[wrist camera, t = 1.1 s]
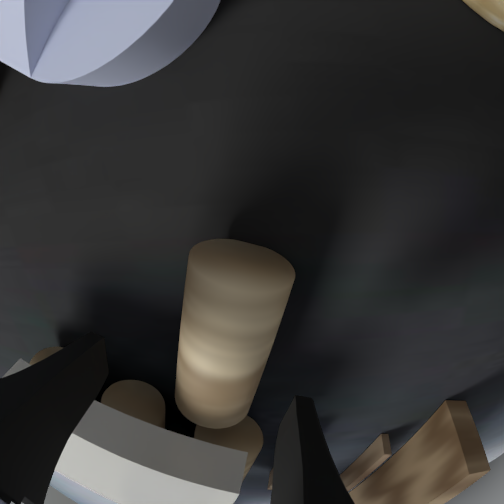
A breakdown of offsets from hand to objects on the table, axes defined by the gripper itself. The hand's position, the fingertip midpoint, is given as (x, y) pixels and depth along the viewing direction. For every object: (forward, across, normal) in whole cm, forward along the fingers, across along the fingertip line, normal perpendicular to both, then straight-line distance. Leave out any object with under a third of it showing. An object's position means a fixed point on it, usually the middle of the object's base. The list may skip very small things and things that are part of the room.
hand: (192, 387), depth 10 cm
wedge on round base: (+5, +9, -15) cm, 18 cm away
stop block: (+5, -16, +11) cm, 20 cm away
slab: (+1, +4, +11) cm, 12 cm away
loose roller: (+5, 0, 0) cm, 5 cm away
